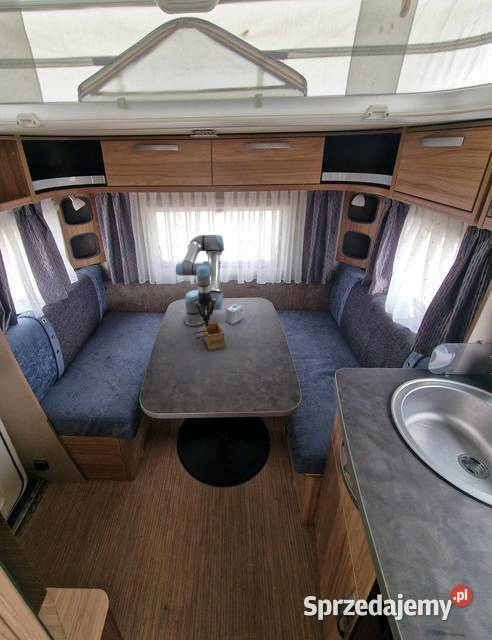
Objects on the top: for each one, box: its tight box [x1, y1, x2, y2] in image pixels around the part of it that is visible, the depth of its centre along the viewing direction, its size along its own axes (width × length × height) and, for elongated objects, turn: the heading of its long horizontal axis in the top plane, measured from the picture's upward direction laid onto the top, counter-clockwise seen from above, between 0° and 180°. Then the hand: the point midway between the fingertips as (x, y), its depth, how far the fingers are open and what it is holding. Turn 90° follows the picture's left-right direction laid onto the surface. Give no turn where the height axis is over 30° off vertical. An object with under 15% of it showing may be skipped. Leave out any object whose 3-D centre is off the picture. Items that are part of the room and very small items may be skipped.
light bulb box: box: [225, 303, 243, 325], centre depth 206 cm, size 11×7×11 cm, turn 134°
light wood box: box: [193, 321, 226, 351], centre depth 181 cm, size 11×13×17 cm
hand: (206, 324), depth 177 cm, fingers closed
